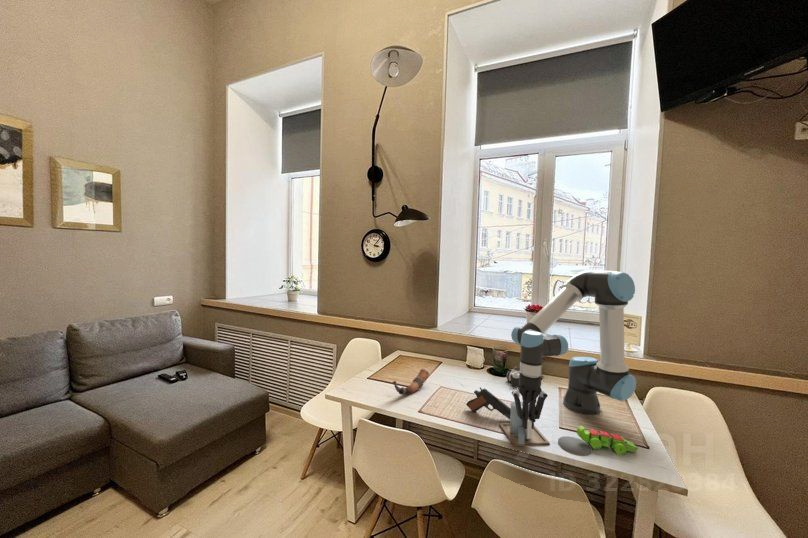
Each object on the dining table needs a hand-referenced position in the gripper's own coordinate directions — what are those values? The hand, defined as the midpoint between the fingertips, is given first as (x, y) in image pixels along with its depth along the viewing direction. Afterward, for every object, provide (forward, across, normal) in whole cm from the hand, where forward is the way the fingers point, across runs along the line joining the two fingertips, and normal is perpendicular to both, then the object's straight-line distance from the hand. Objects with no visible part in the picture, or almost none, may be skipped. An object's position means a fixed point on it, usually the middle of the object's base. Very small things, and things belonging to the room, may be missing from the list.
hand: (527, 436), depth 117 cm
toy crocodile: (+3, -28, +2) cm, 29 cm away
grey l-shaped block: (+3, 0, -6) cm, 7 cm away
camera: (+3, -21, -58) cm, 61 cm away
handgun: (+6, +9, -23) cm, 25 cm away
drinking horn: (+3, +39, -45) cm, 60 cm away
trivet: (+3, -18, +1) cm, 18 cm away
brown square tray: (+3, -2, -7) cm, 8 cm away
